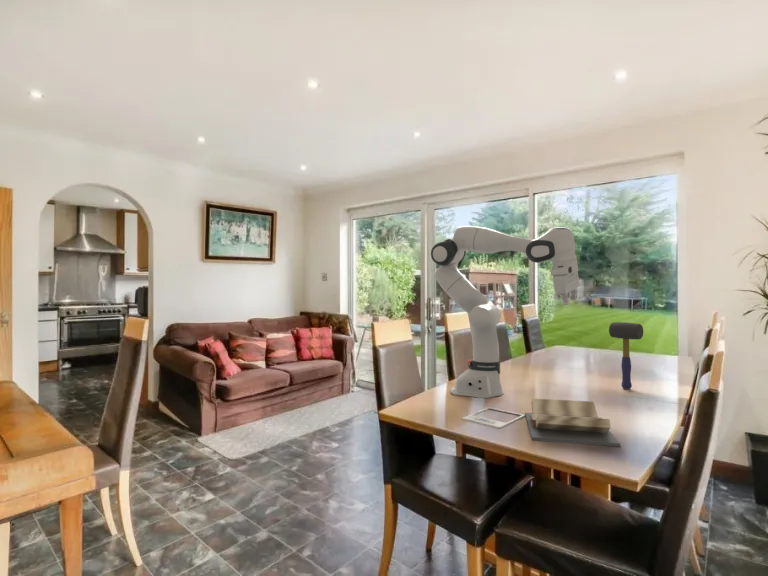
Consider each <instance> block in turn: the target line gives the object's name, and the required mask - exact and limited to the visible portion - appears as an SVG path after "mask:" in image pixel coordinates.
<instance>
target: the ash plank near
mask: <svg viewBox="0 0 768 576" xmlns="http://www.w3.org/2000/svg"><path fill="white" fill-rule="evenodd" d="M599 418H600V417H598V418H583V417H566V416H550V415H537V418H536V428H541V429H555V430H570V431H585V432H600V433H606V432H607V431H608V430H609V431H610V429H611V428H612V427H611V422H610V418H602V419H599Z"/></svg>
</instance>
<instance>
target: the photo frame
mask: <svg viewBox="0 0 768 576" xmlns="http://www.w3.org/2000/svg"><path fill="white" fill-rule="evenodd" d="M488 410H493V411H499V412H502V413H507V414H512V415H517V416H518V417H515V418H514V419H511V420H509V421H507V422H504V421H499V420H495V419H491V418H487V417H482V416H477V415H479V414H482V413H483V412H484V413H485V412H487V411H488ZM523 418H526V416H525V414H523V413H517V412H512V411H508V410H503V409H499V408H494V407H485V408H484V409H481V410H479V411H476V412H474V413H471V414H469V415H466V416H464V417H462V418H461V420H463V421H467V422H470V423H476V424H479V425H483V426H487V427H491V428H496V429H502V428H505V427H507V426H509V425H510V424H513V423H515V422H517V421H519V420H521V419H523Z"/></svg>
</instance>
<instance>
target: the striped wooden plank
mask: <svg viewBox="0 0 768 576" xmlns="http://www.w3.org/2000/svg"><path fill="white" fill-rule="evenodd" d="M529 413H530V416H531V424H532V427H533V428H536V418H537V415H548V414H531V413H532V412H529ZM550 416H564V415H550ZM566 417H581V416H566ZM583 418H599V419H603V417H599V416H598V417H583ZM607 433H608V431H607Z"/></svg>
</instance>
